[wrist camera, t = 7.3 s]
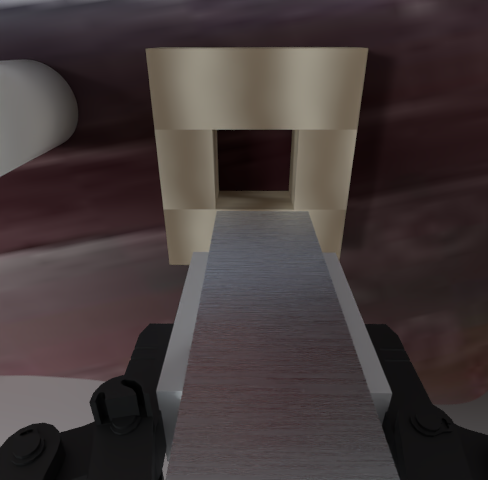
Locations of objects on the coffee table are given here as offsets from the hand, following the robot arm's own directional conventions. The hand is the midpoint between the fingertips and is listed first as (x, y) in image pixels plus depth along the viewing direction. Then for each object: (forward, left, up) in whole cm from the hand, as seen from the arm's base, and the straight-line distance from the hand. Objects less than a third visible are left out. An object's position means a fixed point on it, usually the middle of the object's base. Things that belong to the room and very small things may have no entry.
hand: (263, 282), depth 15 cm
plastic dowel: (-17, +4, -18) cm, 25 cm away
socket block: (0, 0, -18) cm, 18 cm away
